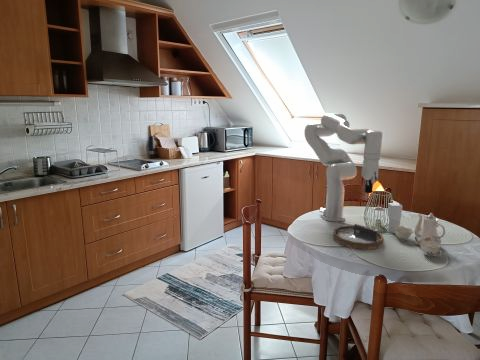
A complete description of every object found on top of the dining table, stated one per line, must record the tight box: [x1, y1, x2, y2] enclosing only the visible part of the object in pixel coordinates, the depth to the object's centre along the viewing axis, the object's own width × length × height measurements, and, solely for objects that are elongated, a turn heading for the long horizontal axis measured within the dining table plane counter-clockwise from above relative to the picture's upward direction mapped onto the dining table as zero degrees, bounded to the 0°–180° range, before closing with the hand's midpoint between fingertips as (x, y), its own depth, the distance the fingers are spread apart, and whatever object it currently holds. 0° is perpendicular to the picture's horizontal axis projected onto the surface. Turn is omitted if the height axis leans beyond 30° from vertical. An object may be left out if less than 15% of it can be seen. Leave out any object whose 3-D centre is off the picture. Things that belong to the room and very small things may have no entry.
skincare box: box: [386, 200, 403, 233], centre depth 185 cm, size 8×6×15 cm
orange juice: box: [368, 180, 386, 197], centre depth 206 cm, size 8×9×20 cm
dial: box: [337, 223, 380, 243], centre depth 172 cm, size 20×20×7 cm
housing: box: [332, 225, 385, 251], centre depth 172 cm, size 23×23×3 cm
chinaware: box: [394, 212, 446, 257], centre depth 165 cm, size 28×17×17 cm, turn 19°
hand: (368, 192), depth 178 cm, fingers closed
